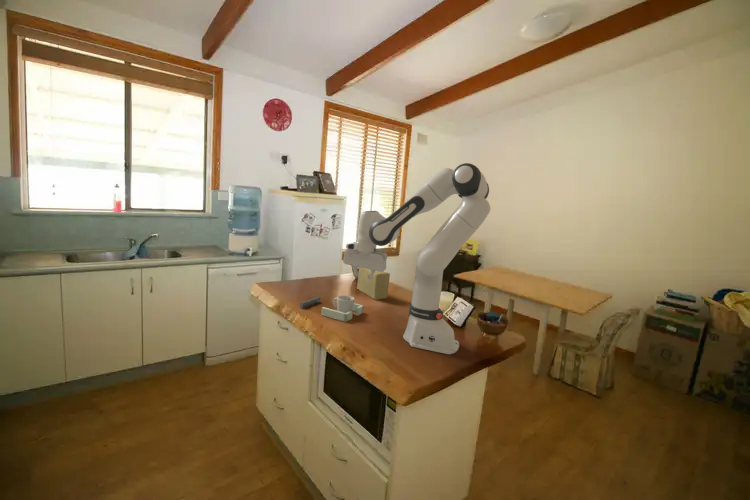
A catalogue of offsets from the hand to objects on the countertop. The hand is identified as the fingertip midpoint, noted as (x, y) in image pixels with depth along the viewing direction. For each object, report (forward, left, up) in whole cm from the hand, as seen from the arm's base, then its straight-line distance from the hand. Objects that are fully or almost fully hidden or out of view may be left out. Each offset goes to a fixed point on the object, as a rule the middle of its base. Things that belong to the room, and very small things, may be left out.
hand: (363, 277), depth 155 cm
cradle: (+9, 0, -19) cm, 21 cm away
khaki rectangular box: (+15, -39, -20) cm, 46 cm away
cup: (+9, 0, -19) cm, 21 cm away
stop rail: (+27, 0, -19) cm, 33 cm away
